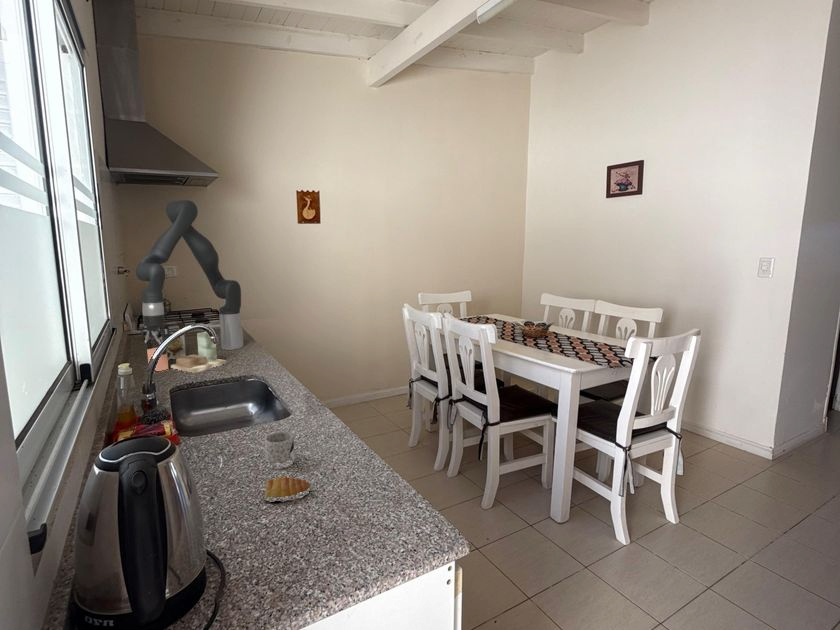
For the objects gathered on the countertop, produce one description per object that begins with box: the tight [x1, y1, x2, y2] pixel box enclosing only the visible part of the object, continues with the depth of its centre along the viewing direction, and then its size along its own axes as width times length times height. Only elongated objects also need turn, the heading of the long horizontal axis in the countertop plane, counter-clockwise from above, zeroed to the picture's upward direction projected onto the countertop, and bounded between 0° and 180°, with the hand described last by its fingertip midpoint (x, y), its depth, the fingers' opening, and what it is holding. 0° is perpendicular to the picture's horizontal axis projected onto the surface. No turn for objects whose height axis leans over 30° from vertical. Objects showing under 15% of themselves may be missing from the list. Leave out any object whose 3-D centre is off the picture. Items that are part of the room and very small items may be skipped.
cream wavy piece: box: [170, 331, 227, 374], centre depth 201 cm, size 16×14×14 cm
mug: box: [264, 431, 295, 463], centre depth 118 cm, size 10×7×7 cm
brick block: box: [146, 346, 169, 372], centre depth 195 cm, size 5×5×9 cm
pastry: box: [264, 476, 311, 498], centre depth 102 cm, size 9×7×4 cm
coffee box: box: [157, 320, 187, 361], centre depth 214 cm, size 9×6×16 cm
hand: (156, 353), depth 194 cm, fingers open, 8 cm apart
